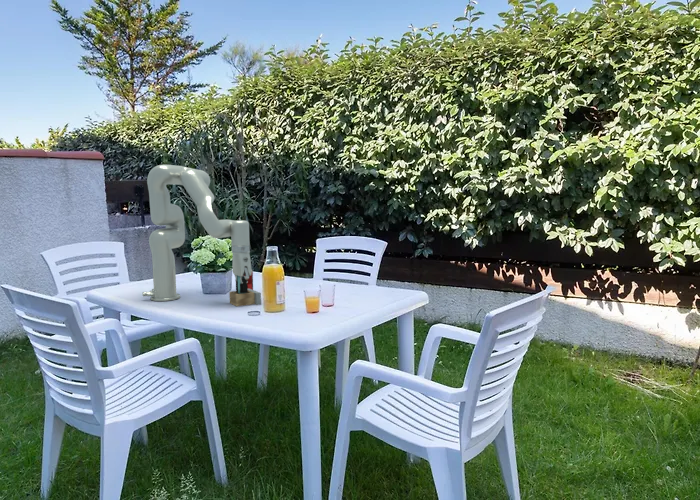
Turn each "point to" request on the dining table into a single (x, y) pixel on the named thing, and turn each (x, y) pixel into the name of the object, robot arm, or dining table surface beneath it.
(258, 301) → the wall
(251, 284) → the canned food
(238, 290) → the dowel
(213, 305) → the dining table surface
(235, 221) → the robot arm
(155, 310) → the dining table surface
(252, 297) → the wooden open box
